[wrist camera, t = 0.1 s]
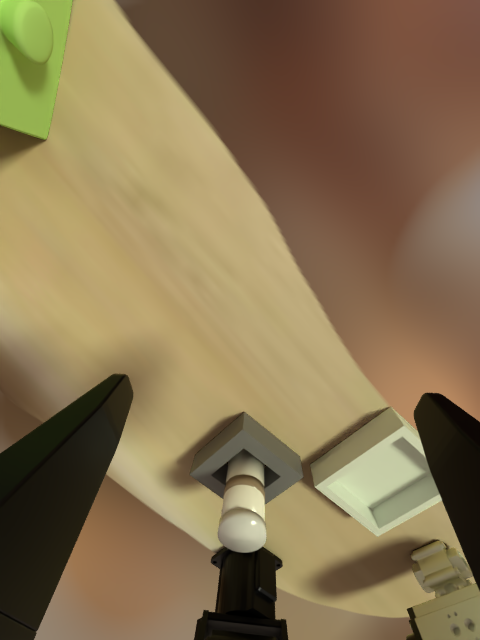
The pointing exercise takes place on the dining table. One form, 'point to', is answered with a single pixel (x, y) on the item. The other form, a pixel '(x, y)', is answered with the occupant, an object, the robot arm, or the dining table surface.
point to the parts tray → (378, 474)
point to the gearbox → (31, 62)
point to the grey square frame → (257, 441)
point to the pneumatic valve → (444, 596)
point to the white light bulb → (243, 504)
